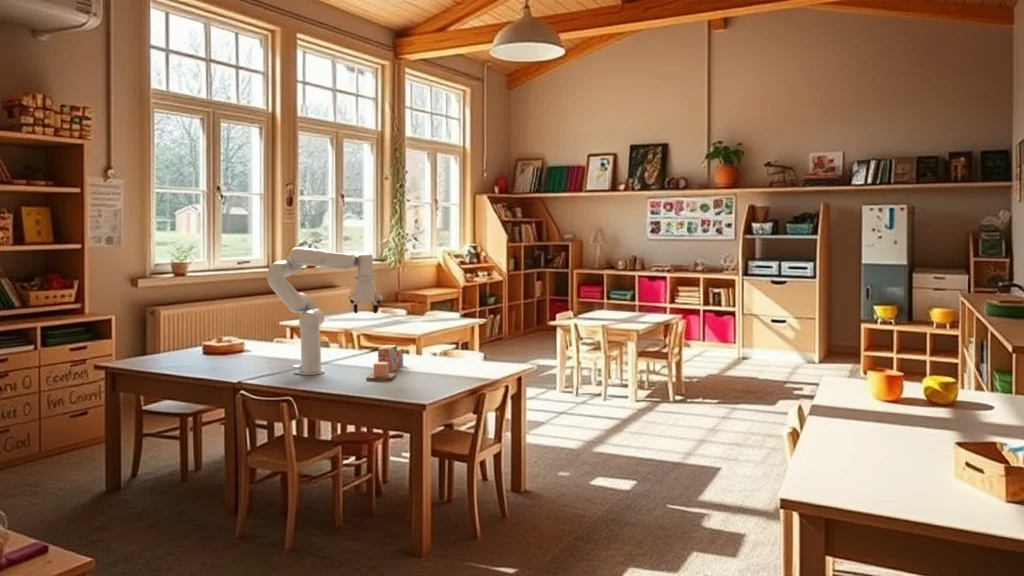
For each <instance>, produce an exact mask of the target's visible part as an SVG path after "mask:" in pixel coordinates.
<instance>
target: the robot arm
mask: <svg viewBox="0 0 1024 576" xmlns="http://www.w3.org/2000/svg"><path fill="white" fill-rule="evenodd" d="M373 261H374V260H373V255H372V254H370V253H360V254H359V253H352V252H351V253H340V252H330V251H327V250H325V249H318V248H311V247H310V248H309V247H305V246H300V247H299V246H298V247H296V246H295V247H293V248H292V249H291V250H290V252H289V255H288V256H287V257H285V258H284V259H283V260H278V261H275V262H273V263H271V264H270V266H269V267H268V269H267V271H266V272H267V273H266V280H267V283H268V286H269V287H270V288H271V289H272V292H274V293H275V295H277V297H278V298H279V299H280V300H281V301H282V303H283V304H284V305H285V306H286V307H287V309H288V310H289V312H290V311H291V312H292V313H296V314H297V313H298V314H299V315H300V316H299V320H298V321H299V322H298V325H299V331H300V333H299V334H300V354H301V355H300V358H301V359H300V360H301V363H300V364H299V365H298V364H293V367H292V369H294V370H298V374H299V375H302V376H314V375H315V376H316V375H321V374H322V375H323V374H324V373H325V370H324V369H322V360H321V359H322V355H321V354H322V353H321V349H322V348H321V345H322V344H321V331H320V326H322V325H323V323H324V322H325V315H324V312H323V310H321V308H320V307H319V306H318V305H317V303H315V301H314V300H313V299H312V298H311V297H310V296H309V295H307V293H305V292H298V291H297V290H296V288H294V287H293V285H292V284H291V283H290V282H289V281H288V280H287V279H286V278H289V277H291V276H292V275H294V274H295V273H296V272H297V271H298V270H300V269H301V268H302V267H303V266H311V267H312V266H313V267H320V268H330V269H339V270H351V269H356V268H357V269H356V270H357V275H356V276H354V280H356V281H355V285H354V293H352V294H351V295H348V296H347V298H348V300H349V301H350V303H351V304H352V306H353V312H354V314H357V313H359V312H358V303H360V302H361V303H362V302H363V303H365V302H367V303H369V302H373V304H374V305H373V314H377V312H378V311H379V310H378V309H379V306H378V305H379V304H380V303H381V302H382V300H383V299H384V296H383V295H381V294H379V293H378V292H377V289H376V283H375V281H374V269H373V268H374V267H373V266H374V262H373ZM353 298H354V300H353ZM377 298H379V299H378V300H377Z"/></svg>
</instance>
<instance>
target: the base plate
mask: <svg viewBox="0 0 1024 576" xmlns="http://www.w3.org/2000/svg"><path fill="white" fill-rule="evenodd" d="M396 376H397V374H396V372H388V375H387V376H386V377H374V372H371V373H370V374H369V375H368V376H367V377H365V379H366V382H392V381H393V380H394V379H395V378H396Z"/></svg>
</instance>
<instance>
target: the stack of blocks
mask: <svg viewBox="0 0 1024 576" xmlns="http://www.w3.org/2000/svg"><path fill="white" fill-rule="evenodd" d="M403 352H404V351H403V347H401V348H400V347H398V345H396V344H385V345H383V346H381V347H379V348H377V360H378V361H377V362H388V373H393V372H394V371H395V370H398V369H400V368H401V367H402V366H404V354H403Z"/></svg>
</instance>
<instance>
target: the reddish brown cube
mask: <svg viewBox="0 0 1024 576" xmlns="http://www.w3.org/2000/svg"><path fill="white" fill-rule="evenodd" d="M373 373H374V377H386V376H387V375H388V373H389V372H388V362H378V361H375V362H374V363H373Z"/></svg>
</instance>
